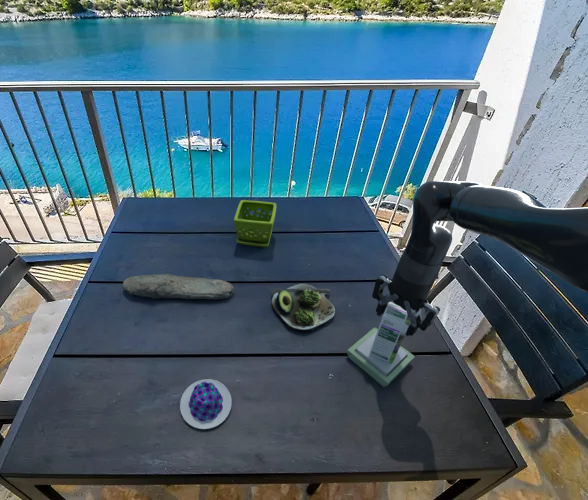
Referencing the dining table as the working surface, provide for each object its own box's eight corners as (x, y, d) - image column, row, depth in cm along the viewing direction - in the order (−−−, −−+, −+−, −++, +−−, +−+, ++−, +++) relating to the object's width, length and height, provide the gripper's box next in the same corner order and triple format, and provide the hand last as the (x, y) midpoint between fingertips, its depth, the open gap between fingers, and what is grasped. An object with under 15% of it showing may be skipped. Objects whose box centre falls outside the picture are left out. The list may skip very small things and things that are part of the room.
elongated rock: (232, 308, 106) (234, 286, 114) (232, 295, 103) (234, 274, 111) (118, 299, 107) (128, 278, 115) (115, 286, 104) (126, 266, 112)
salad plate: (313, 278, 115) (315, 267, 112) (349, 315, 103) (352, 304, 100) (262, 297, 108) (263, 286, 106) (294, 339, 96) (296, 328, 93)
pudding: (239, 419, 79) (239, 407, 76) (187, 438, 75) (185, 427, 72) (222, 374, 88) (221, 362, 84) (175, 390, 84) (172, 378, 81)
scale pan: (405, 357, 89) (407, 353, 88) (385, 377, 85) (387, 373, 84) (375, 334, 94) (377, 331, 93) (355, 352, 90) (356, 348, 89)
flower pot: (240, 226, 138) (240, 198, 131) (275, 230, 136) (277, 202, 128) (233, 248, 128) (232, 219, 120) (270, 252, 126) (273, 223, 118)
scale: (411, 363, 90) (415, 356, 88) (384, 389, 84) (388, 383, 83) (372, 333, 97) (374, 327, 96) (345, 356, 92) (347, 349, 90)
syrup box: (368, 354, 88) (382, 315, 79) (374, 338, 92) (388, 299, 83) (392, 364, 85) (409, 326, 76) (397, 347, 89) (414, 308, 80)
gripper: (375, 260, 74) (358, 313, 84) (441, 299, 65) (413, 352, 75) (395, 247, 78) (376, 299, 88) (460, 282, 69) (431, 335, 79)
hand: (394, 323), depth 82 cm, fingers closed on syrup box, 7 cm apart
